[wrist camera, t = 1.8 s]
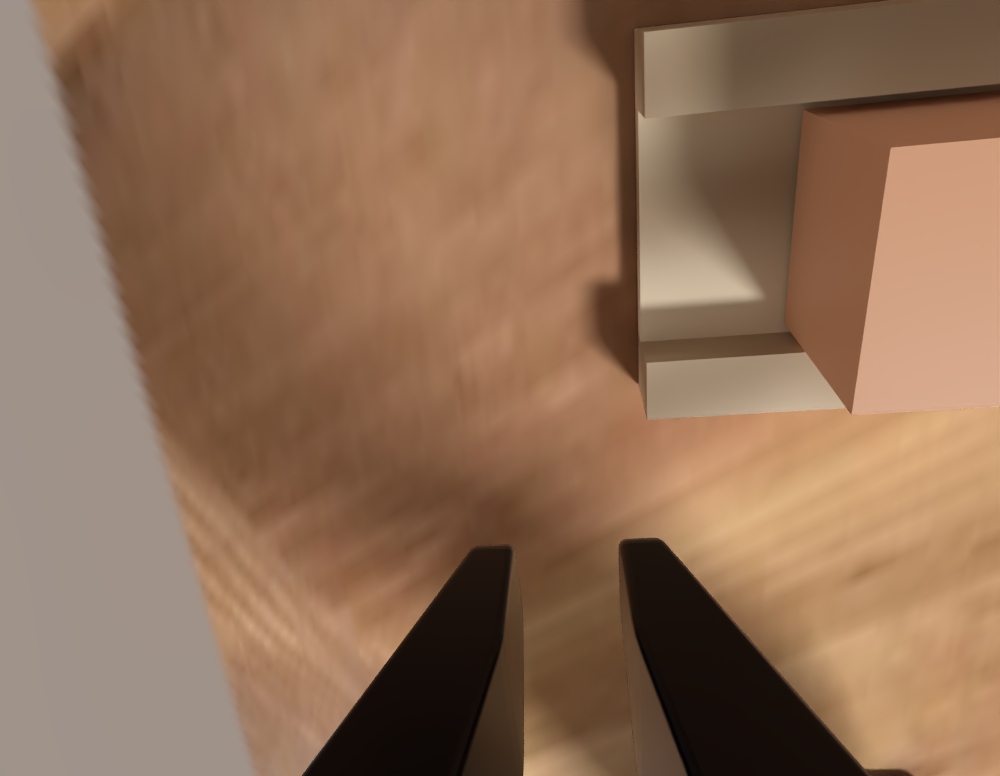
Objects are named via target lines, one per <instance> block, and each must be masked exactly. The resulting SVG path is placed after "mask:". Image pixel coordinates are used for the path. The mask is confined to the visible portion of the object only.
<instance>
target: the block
mask: <svg viewBox="0 0 1000 776" xmlns="http://www.w3.org/2000/svg"><path fill="white" fill-rule="evenodd" d="M784 324H785V325H786V326H787V328H788V329H789V330H790V332H791V333H792V334H793V336H794V337H795V339H796V340H797V341H798V343H799V344H800V345H801V347H802V348H803V349H804V351H805V352H806V354H807V355H808V356H809V358H810V359H811V360H812V362H813V363H814V364H815V366H816V367H817V369H818V370H819V371H820V373H821V374H822V375H823V377H824V378H825V379H826V381H827V382H828V384H829V385H830V386H831V388H832V389H833V390H834V392H835V393H836V395H837V396H838V397H839V399H840V400H841V401H842V403H843V404H844V405H845V407H846V408H847V410H848V411H849V412H850V414H851V415H862V414H879V413H896V412H914V411H931V410H949V409H966V408H983V407H1000V90H999V91H988V92H978V93H968V94H958V95H947V96H937V97H927V98H917V99H907V100H896V101H886V102H876V103H866V104H855V105H845V106H835V107H825V108H814V109H804V110H803V117H802V128H801V139H800V150H799V161H798V173H797V184H796V195H795V206H794V217H793V229H792V240H791V251H790V262H789V273H788V284H787V296H786V307H785V318H784Z"/></svg>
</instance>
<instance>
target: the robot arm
mask: <svg viewBox="0 0 1000 776" xmlns="http://www.w3.org/2000/svg"><path fill="white" fill-rule="evenodd" d="M619 583H620V609H621V622H622V632H623V642H624V652H625V662H626V672H627V682H628V693H629V703H630V713H631V723H632V733H633V743H634V752H635V759H636V767H637V774H638V776H870V775H869V774H868V773H867V771H866V770H865V769H864V768H863V767H862V766H861V765H860V764H859V762H858V761H857V760H856V759H855V758H854V757H853V756H852V754H851V753H850V752H849V751H848V750H847V749H846V748H845V747H844V745H843V744H842V743H841V742H840V741H839V740H838V739H837V737H836V736H835V735H834V734H833V733H832V732H831V731H830V730H829V728H828V727H827V726H826V725H825V724H824V723H823V722H822V720H821V719H820V718H819V717H818V716H817V715H816V714H815V713H814V711H813V710H812V709H811V708H810V707H809V706H808V705H807V703H806V702H805V701H804V700H803V699H802V698H801V697H800V696H799V694H798V693H797V692H796V691H795V690H794V689H793V688H792V686H791V685H790V684H789V683H788V682H787V681H786V680H785V679H784V677H783V676H782V675H781V674H780V673H779V672H778V671H777V669H776V668H775V667H774V666H773V665H772V664H771V663H770V662H769V660H768V659H767V658H766V657H765V656H764V655H763V654H762V652H761V651H760V650H759V649H758V648H757V647H756V646H755V645H754V643H753V642H752V641H751V640H750V639H749V638H748V637H747V635H746V634H745V633H744V632H743V631H742V630H741V629H740V628H739V626H738V625H737V624H736V623H735V622H734V621H733V620H732V618H731V617H730V616H729V615H728V614H727V613H726V612H725V611H724V609H723V608H722V607H721V606H720V605H719V604H718V603H717V601H716V600H715V599H714V598H713V597H712V596H711V595H710V594H709V592H708V591H707V590H706V589H705V588H704V587H703V586H702V585H701V583H700V582H699V581H698V580H697V579H696V578H695V577H694V575H693V574H692V573H691V572H690V571H689V570H688V569H687V568H686V566H685V565H684V564H683V563H682V562H681V561H680V560H679V558H678V557H677V556H676V555H675V554H674V553H673V552H672V551H671V549H670V548H669V547H668V546H667V545H666V544H665V543H664V542H663V541H662V540H660V539H658V538H639V539H624V540H622V541H621V542H620V544H619ZM523 767H524V656H523V609H522V599H521V591H520V583H519V574H518V566H517V558H516V553H515V549H514V548H513V546H511V545H509V544H501V545H480V546H476V547H474V548H473V549H471V551H470V552H469V553H468V554H467V556H466V557H465V558H464V560H463V561H462V562H461V564H460V565H459V566H458V568H457V569H456V570H455V572H454V573H453V575H452V576H451V577H450V579H449V580H448V581H447V583H446V584H445V585H444V587H443V588H442V589H441V591H440V592H439V593H438V595H437V596H436V597H435V599H434V600H433V601H432V603H431V604H430V605H429V607H428V608H427V609H426V611H425V612H424V613H423V615H422V616H421V617H420V619H419V620H418V621H417V623H416V624H415V625H414V627H413V628H412V629H411V631H410V632H409V633H408V635H407V636H406V637H405V639H404V640H403V641H402V643H401V644H400V645H399V647H398V648H397V649H396V651H395V652H394V653H393V655H392V656H391V657H390V659H389V660H388V661H387V663H386V664H385V665H384V667H383V668H382V669H381V671H380V672H379V673H378V675H377V676H376V677H375V679H374V680H373V681H372V683H371V684H370V685H369V687H368V688H367V689H366V691H365V692H364V693H363V695H362V696H361V697H360V699H359V700H358V701H357V703H356V704H355V705H354V707H353V708H352V709H351V711H350V712H349V713H348V715H347V716H346V717H345V719H344V720H343V721H342V723H341V724H340V725H339V727H338V728H337V729H336V731H335V732H334V733H333V735H332V736H331V737H330V739H329V740H328V741H327V743H326V744H325V745H324V747H323V748H322V749H321V751H320V752H319V753H318V755H317V756H316V757H315V759H314V760H313V761H312V763H311V764H310V765H309V767H308V768H307V769H306V771H305V772H304V773H303V775H302V776H523Z"/></svg>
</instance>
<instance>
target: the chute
mask: <svg viewBox="0 0 1000 776" xmlns="http://www.w3.org/2000/svg"><path fill="white" fill-rule="evenodd" d="M634 54H635V129H636V204H637V278H638V353H639V388H640V392H641V397H642V401H643V405H644V409H645V413H646V417H647V420H651V419H668V418H685V417H702V416H720V415H737V414H754V413H771V412H788V411H805V410H822V409H839V408H846V407H845V405H844V404H843V403H842V401H841V400H840V399H839V397H838V396H837V395H836V393H835V392H834V390H833V389H832V388H831V386H830V385H829V384H828V382H827V381H826V379H825V378H824V377H823V375H822V374H821V373H820V371H819V370H818V369H817V367H816V366H815V364H814V363H813V362H812V360H811V359H810V358H809V356H808V355H807V354H806V352H805V351H804V349H803V348H802V347H801V345H800V344H799V343H798V341H797V340H796V339H795V337H794V336H793V334H792V333H791V332H790V330H789V329H788V328H787V326H786V325H785V324H784V318H785V307H786V296H787V284H788V273H789V262H790V251H791V240H792V229H793V217H794V206H795V195H796V184H797V173H798V161H799V150H800V139H801V128H802V117H803V110H804V109H814V108H825V107H835V106H845V105H855V104H866V103H876V102H886V101H896V100H907V99H917V98H927V97H937V96H947V95H958V94H968V93H978V92H988V91H999V90H1000V0H889V1H879V2H870V3H861V4H852V5H843V6H834V7H825V8H816V9H807V10H798V11H789V12H780V13H771V14H762V15H753V16H744V17H735V18H726V19H717V20H708V21H699V22H689V23H680V24H671V25H662V26H653V27H644V28H635V29H634Z"/></svg>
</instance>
